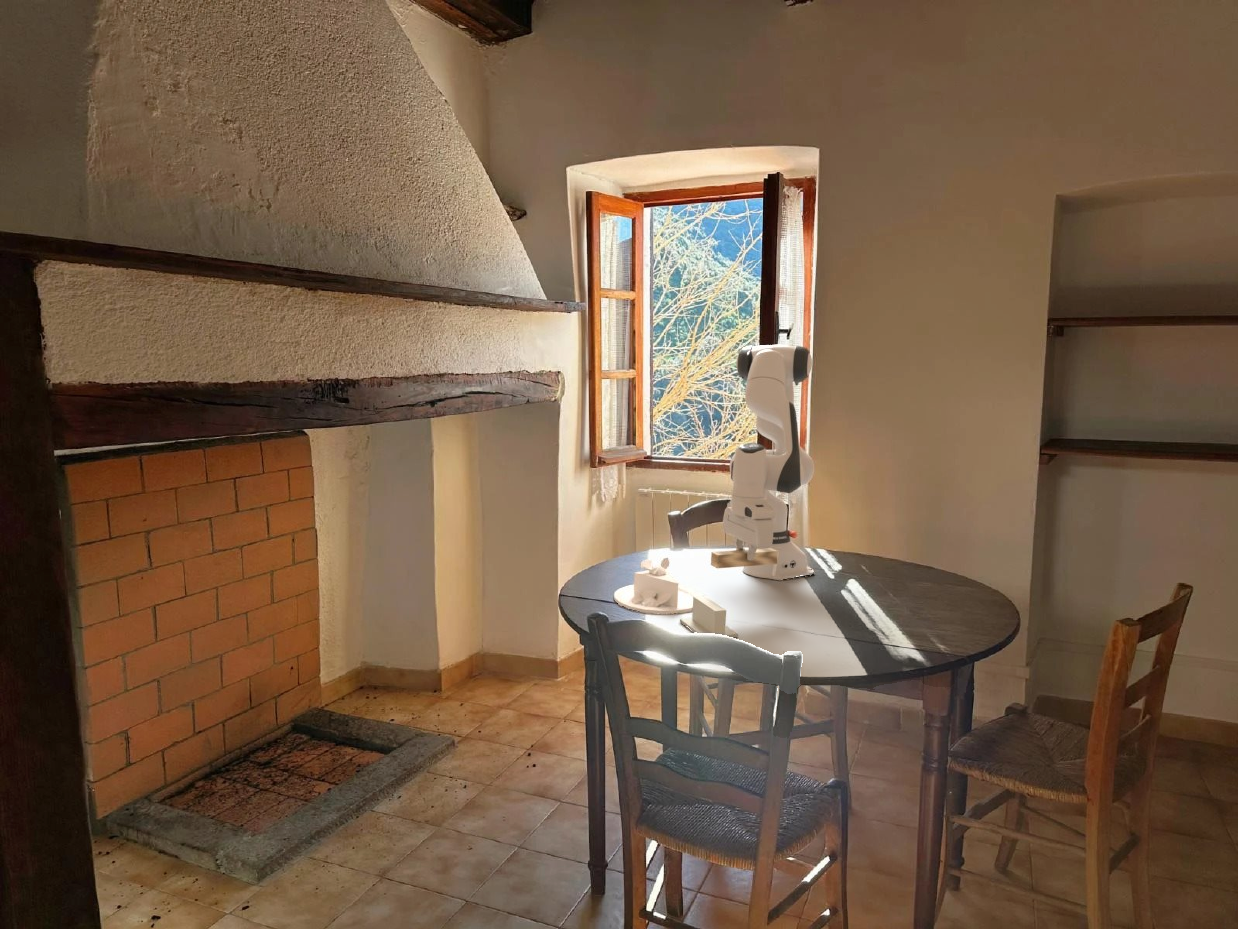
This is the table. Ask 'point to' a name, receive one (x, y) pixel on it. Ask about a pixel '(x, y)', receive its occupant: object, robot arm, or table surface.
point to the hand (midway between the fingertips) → (744, 557)
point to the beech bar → (743, 558)
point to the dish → (656, 591)
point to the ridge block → (708, 618)
